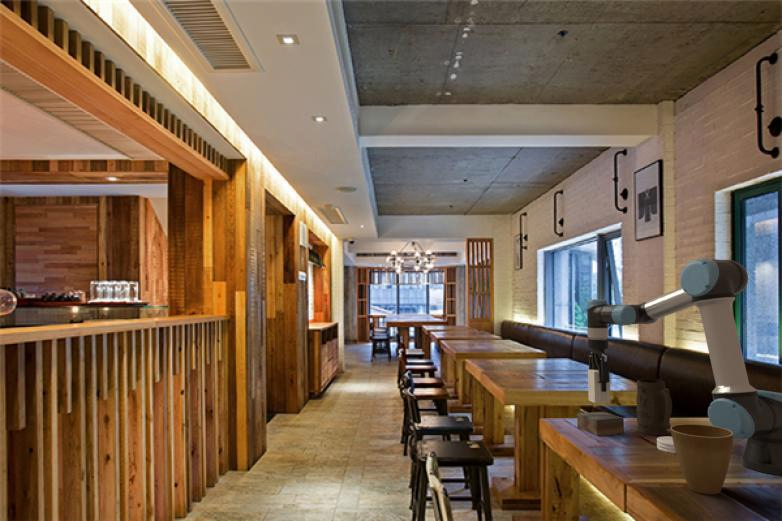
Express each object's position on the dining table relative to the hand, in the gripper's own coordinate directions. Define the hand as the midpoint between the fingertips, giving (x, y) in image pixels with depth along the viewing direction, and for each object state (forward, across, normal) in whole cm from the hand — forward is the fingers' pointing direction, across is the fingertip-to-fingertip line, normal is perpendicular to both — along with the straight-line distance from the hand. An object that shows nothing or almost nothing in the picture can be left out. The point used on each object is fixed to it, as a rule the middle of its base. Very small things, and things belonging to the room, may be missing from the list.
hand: (599, 398), depth 209 cm
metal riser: (+13, 0, 0) cm, 13 cm away
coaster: (+13, -26, -14) cm, 32 cm away
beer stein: (+13, -5, -20) cm, 24 cm away
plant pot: (+12, -63, -1) cm, 64 cm away
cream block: (+1, 0, 0) cm, 1 cm away
